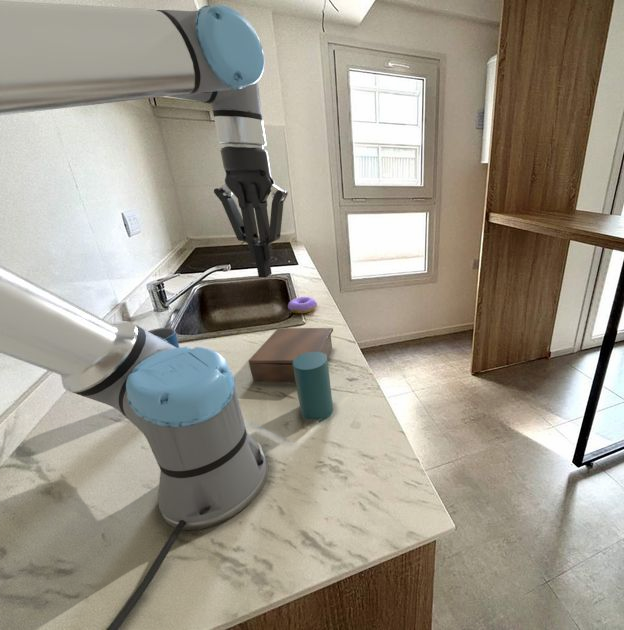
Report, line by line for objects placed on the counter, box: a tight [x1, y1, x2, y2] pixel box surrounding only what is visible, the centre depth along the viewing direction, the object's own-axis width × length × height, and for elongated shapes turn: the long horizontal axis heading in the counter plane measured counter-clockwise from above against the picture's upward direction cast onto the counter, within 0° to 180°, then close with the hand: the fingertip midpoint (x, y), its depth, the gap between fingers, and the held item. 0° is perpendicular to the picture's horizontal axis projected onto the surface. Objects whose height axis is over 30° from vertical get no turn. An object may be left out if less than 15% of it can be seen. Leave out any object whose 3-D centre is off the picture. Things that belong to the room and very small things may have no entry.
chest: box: [248, 334, 333, 384], centre depth 86 cm, size 15×17×6 cm
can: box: [293, 352, 334, 423], centre depth 68 cm, size 7×7×13 cm
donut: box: [287, 296, 318, 314], centre depth 119 cm, size 10×9×5 cm
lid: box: [248, 327, 334, 364], centre depth 84 cm, size 15×17×1 cm
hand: (265, 275), depth 68 cm, fingers closed
